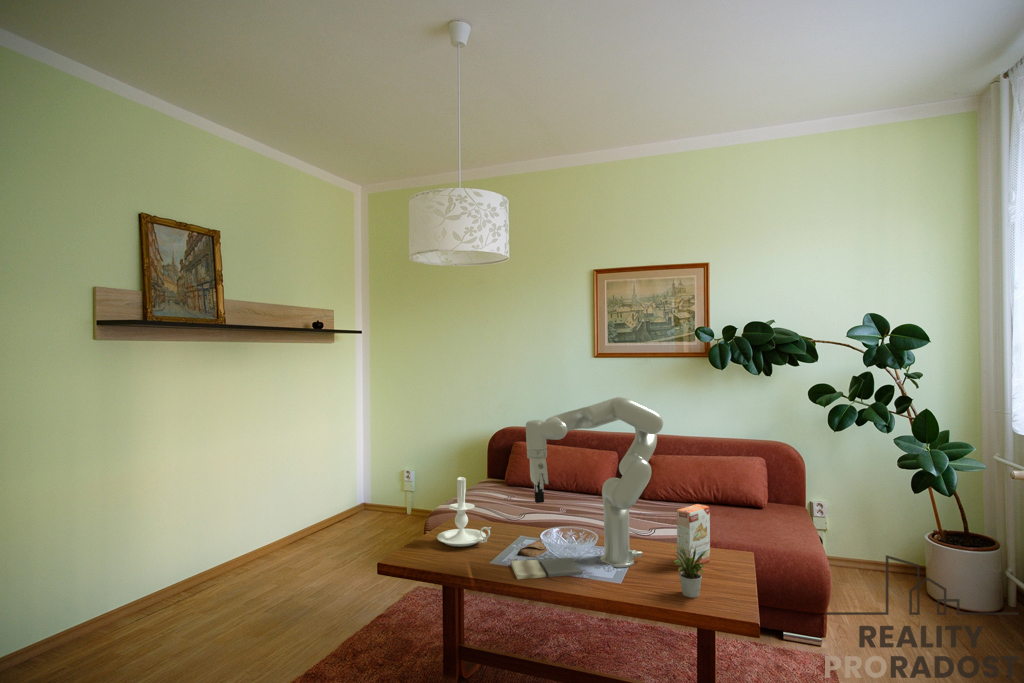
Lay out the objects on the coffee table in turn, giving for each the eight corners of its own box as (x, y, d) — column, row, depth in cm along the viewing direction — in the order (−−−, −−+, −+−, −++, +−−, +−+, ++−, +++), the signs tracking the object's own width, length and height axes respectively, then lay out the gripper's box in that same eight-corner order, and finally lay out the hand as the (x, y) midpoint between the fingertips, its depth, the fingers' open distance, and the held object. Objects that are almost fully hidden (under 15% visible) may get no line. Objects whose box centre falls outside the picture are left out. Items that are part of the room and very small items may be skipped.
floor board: (571, 563, 211) (571, 557, 212) (582, 577, 198) (582, 571, 198) (540, 565, 209) (540, 559, 209) (548, 579, 196) (548, 573, 196)
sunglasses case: (536, 561, 213) (528, 545, 215) (522, 568, 216) (515, 551, 218) (557, 548, 228) (550, 532, 230) (545, 554, 231) (537, 539, 233)
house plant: (658, 596, 181) (657, 545, 182) (671, 582, 193) (670, 534, 193) (702, 607, 173) (701, 553, 174) (714, 591, 185) (713, 541, 185)
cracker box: (690, 570, 204) (689, 512, 204) (676, 565, 208) (675, 509, 209) (711, 561, 212) (710, 506, 213) (697, 557, 217) (696, 503, 218)
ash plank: (539, 565, 209) (539, 559, 209) (548, 579, 196) (548, 573, 196) (510, 566, 207) (510, 561, 208) (517, 581, 194) (517, 575, 194)
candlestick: (477, 556, 220) (477, 485, 221) (427, 546, 231) (426, 479, 232) (503, 541, 238) (502, 475, 239) (455, 533, 250) (454, 470, 251)
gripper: (551, 455, 204) (554, 506, 203) (541, 449, 218) (544, 496, 218) (531, 457, 202) (534, 508, 202) (523, 451, 217) (525, 498, 216)
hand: (539, 502), depth 210 cm, fingers closed
